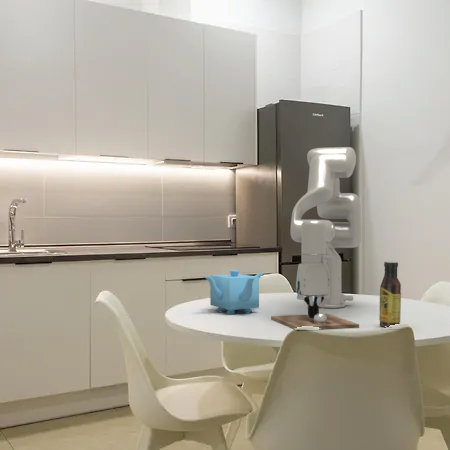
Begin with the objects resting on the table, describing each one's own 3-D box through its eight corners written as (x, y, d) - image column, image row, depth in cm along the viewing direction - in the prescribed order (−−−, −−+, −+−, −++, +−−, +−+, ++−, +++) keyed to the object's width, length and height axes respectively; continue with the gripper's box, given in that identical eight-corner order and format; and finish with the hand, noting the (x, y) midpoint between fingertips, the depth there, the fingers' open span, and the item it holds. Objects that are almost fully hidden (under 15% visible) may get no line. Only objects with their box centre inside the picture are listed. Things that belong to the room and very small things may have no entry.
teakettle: (216, 307, 231) (216, 267, 231) (266, 309, 227) (266, 268, 226) (201, 314, 213) (201, 271, 213) (255, 316, 208) (255, 272, 208)
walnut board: (326, 316, 209) (326, 313, 209) (359, 327, 188) (359, 324, 188) (271, 319, 203) (271, 316, 203) (298, 330, 182) (298, 327, 182)
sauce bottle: (376, 324, 193) (376, 260, 192) (396, 324, 193) (396, 260, 193) (383, 328, 186) (383, 262, 186) (403, 328, 187) (404, 262, 186)
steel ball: (330, 319, 188) (326, 328, 190) (325, 309, 191) (322, 319, 193) (318, 320, 187) (314, 329, 189) (313, 310, 190) (310, 319, 192)
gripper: (329, 258, 201) (329, 315, 201) (286, 259, 197) (286, 317, 197) (340, 259, 194) (340, 318, 194) (296, 260, 189) (296, 320, 190)
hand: (313, 317), depth 195 cm, fingers closed
